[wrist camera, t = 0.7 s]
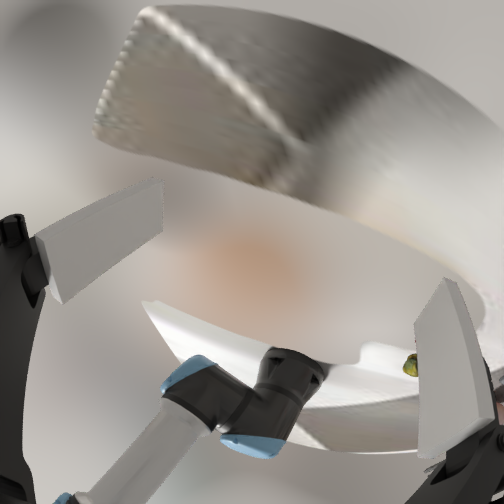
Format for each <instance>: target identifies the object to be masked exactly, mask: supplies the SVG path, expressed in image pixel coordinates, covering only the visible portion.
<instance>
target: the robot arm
mask: <svg viewBox="0 0 504 504" xmlns="http://www.w3.org/2000/svg"><path fill="white" fill-rule="evenodd" d="M163 197H164V180H160V179H157V178H153V177H152V178H149V179H147V180H144V181H142V182H139V183H137V184H135V185H132V186H130V187H127V188H125V189H123V190H121V191H119V192H116V193H114V194H112V195H109V196H107V197H105V198H103V199H101V200H99V201H96V202H94V203H92V204H90V205H88V206H86V207H84V208H82V209H80V210H78V211H76V212H74V213H72V214H70V215H68V216H66V217H65V218H63V219H61V220H59V221H57V222H55V223H54V224H52V225H50V226H48V227H47V228H45V229H43V230H41V231H39V232H38V233H36V234H34V235H35V236H34V237H31V238H30V239H29V236H28V232H27V227H26V223H25V218H24V215H22V214H13V215H9V216H7V217H5V218H3V219H1V220H0V504H36V499H35V493H34V484H33V478H32V473H31V471H30V468H29V466H28V465H27V463H26V461H25V460H24V457H23V451H22V430H23V429H22V428H23V409H24V398H25V387H26V381H27V374H28V366H29V361H30V356H31V351H32V346H33V341H34V337H35V332H36V328H37V324H38V319H39V316H40V312H41V309H42V306H43V302H44V299H45V294H46V292H45V289H44V287H45V286H47V285H48V284H49V287H50V289H51V293H52V295H53V297H54V298H55V299H57V300H58V301H59V302H60V303H61V304H62V305H63V304H65V303H66V302H67V301H69V300H70V299H71V298H72V297H74V296H75V295H76V294H77V293H79V292H80V291H81V290H82V289H84V288H85V287H86V286H88V285H89V284H90V283H92V282H93V281H94V280H95V279H97V278H98V277H99V276H101V275H102V274H103V273H105V272H106V271H107V270H108V269H110V268H111V267H112V266H114V265H115V264H117V263H118V262H120V261H121V260H122V259H124V258H125V257H126V256H128V255H129V254H131V253H132V252H133V251H135V250H136V249H138V248H139V247H140V246H142V245H143V244H145V243H146V242H148V241H149V240H151V239H152V238H153V237H155V236H156V235H158V234H159V233H161V232H162V231H163ZM414 330H415V339H416V349H417V360H418V376H419V438H418V452H417V457H419V458H431V459H434V458H436V457H438V456H439V455H441V454H443V453H445V452H446V459H445V460H443V461H442V462H439V463H437V464H435V465H434V466H431V467H429V468H428V469H426V470H425V471H424V473H427V472H430V471H432V470H434V471H433V472H432V473H431V474H430V475H428V478H427V479H426V481H425V482H424V483H423V484H422V485H421V487H420V488H419V489H418V490H417V491H416V492H415V493H414V494H413V495H412V496H411V497H410V499H409V500H408V501H407V502H406V503H405V504H504V495H503V497H502V498H499V499H497V500H495V501H491V499H492V496H493V495H495V494H497V493H499V492H501V491H503V490H504V425H500V424H499V417H498V410H497V404H496V398H495V393H494V391H493V389H494V388H493V383H492V382H491V380H492V379H491V374H490V370H489V367H488V365H487V363H486V361H485V359H484V358H483V357H482V353H481V349H480V346H479V343H478V339H477V336H476V333H475V330H474V327H473V324H472V321H471V318H470V316H469V312H468V310H467V307H466V304H465V302H464V300H463V297H462V294H461V292H460V290H459V287H458V285H457V283H456V282H454V281H452V280H449V279H447V278H445V277H444V278H443V279H442V281H441V283H440V284H439V286H438V288H437V289H436V291H435V292H434V294H433V296H432V297H431V299H430V300H429V302H428V304H427V305H426V307H425V308H424V310H423V311H422V313H421V314H420V315H419V317H418V319H417V320H416V321H415V323H414ZM323 380H324V373H323V371H322V369H321V367H320V366H319V365H318V364H317V363H316V362H315V361H314V360H312V359H311V358H309V357H308V356H306V355H304V354H302V353H300V352H297V351H294V350H290V349H284V348H277V349H272V350H269V351H268V352H267V353H266V354H265V355H264V357H263V359H262V360H261V363H260V368H259V373H258V377H257V382H256V385H255V386H254V388H253V389H252V388H250V387H249V386H247V385H246V384H244V383H243V382H241V381H240V380H238V379H237V378H235V377H234V376H233V375H231V374H230V373H228V372H227V371H225V370H224V369H223V368H221V367H220V366H218V364H217V363H214V362H212V361H211V360H209V359H208V358H206V357H205V356H203V355H195V356H193V357H191V358H189V359H188V360H186V361H185V362H184V363H183V364H181V365H180V366H179V367H178V368H177V369H176V370H175V371H174V372H173V373H172V374H171V375H170V377H168V378H167V379H166V380H165V381H164V383H163V384H162V385H161V388H160V390H161V391H162V393H163V394H164V395H163V396H162V397H161V399H160V400H159V401H160V407H161V410H160V412H159V413H158V415H157V416H156V417H155V418H154V419H153V420H152V421H151V423H150V424H149V425H148V426H147V427H146V428H145V430H144V431H143V432H142V433H141V434H140V435H139V437H138V438H137V439H136V440H135V441H134V442H133V443H132V444H131V446H130V447H129V448H128V449H127V450H126V451H125V453H124V454H123V455H122V456H121V457H120V458H119V459H118V460H117V461H116V463H115V464H114V465H113V466H112V467H111V468H110V469H109V470H108V471H107V473H106V474H105V475H104V476H103V477H102V478H101V479H100V480H99V481H98V482H97V484H96V485H95V486H94V487H93V488H92V489H91V490H90V491H89V492H87V493H86V492H76V493H75V494H74V495H73V496H72V495H71V494H69V493H63V494H62V495H60V496H59V497H58V499H57V500H56V501H55V502H54V503H53V504H145V503H146V502H147V501H148V500H149V499H150V497H151V496H152V495H153V494H154V493H155V492H156V490H157V489H158V488H159V487H160V486H161V484H162V483H163V482H164V481H165V479H166V478H167V477H168V476H169V475H170V473H171V472H172V471H173V470H174V468H175V467H176V466H177V464H178V463H179V462H180V460H181V459H182V458H183V457H184V455H185V454H186V453H187V452H188V450H189V449H190V448H191V446H192V445H193V444H194V442H195V441H196V440H197V438H198V437H201V436H208V435H210V434H211V433H212V431H213V430H214V429H215V430H217V431H218V432H220V433H221V434H222V435H221V436H220V441H221V442H222V443H223V444H225V445H226V446H228V447H229V448H231V449H234V450H236V451H238V452H241V453H244V454H247V455H250V456H253V457H258V458H264V459H268V458H269V459H270V458H273V457H275V456H276V455H277V454H278V453H279V451H280V450H281V448H282V447H283V445H284V444H285V443H286V440H287V438H288V436H289V434H290V432H291V430H292V428H293V426H294V424H295V422H296V420H297V418H298V416H299V414H300V412H301V410H302V408H303V406H304V404H305V403H306V402H307V401H308V400H309V399H310V398H311V397H312V396H313V395H314V394H315V393H316V392H317V391H318V390H319V388H320V387H321V384H322V382H323Z"/></svg>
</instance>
